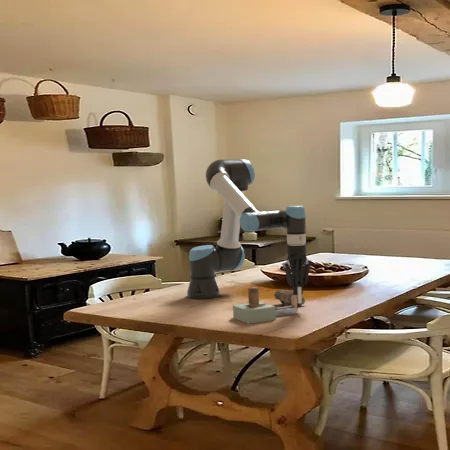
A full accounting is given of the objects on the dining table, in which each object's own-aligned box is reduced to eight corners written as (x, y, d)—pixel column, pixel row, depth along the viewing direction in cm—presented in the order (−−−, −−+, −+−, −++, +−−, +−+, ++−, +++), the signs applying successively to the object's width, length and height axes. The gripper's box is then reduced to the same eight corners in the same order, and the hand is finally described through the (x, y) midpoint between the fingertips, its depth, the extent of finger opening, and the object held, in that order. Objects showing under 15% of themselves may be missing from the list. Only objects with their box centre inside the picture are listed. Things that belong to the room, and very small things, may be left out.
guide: (264, 315, 243) (264, 309, 243) (290, 311, 249) (289, 305, 248) (270, 317, 239) (270, 311, 239) (296, 313, 244) (296, 307, 244)
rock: (272, 290, 265) (279, 290, 255) (297, 288, 267) (305, 288, 258) (273, 306, 264) (280, 307, 254) (298, 304, 267) (306, 305, 257)
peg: (247, 318, 239) (246, 288, 238) (256, 317, 241) (255, 286, 240) (252, 320, 236) (251, 289, 235) (261, 319, 238) (260, 288, 237)
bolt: (275, 313, 244) (274, 298, 244) (294, 310, 248) (293, 295, 247) (278, 314, 242) (277, 299, 242) (297, 311, 246) (296, 296, 246)
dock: (233, 317, 241) (232, 305, 241) (259, 313, 247) (259, 301, 246) (248, 323, 230) (247, 310, 230) (275, 319, 236) (275, 306, 235)
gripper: (287, 246, 239) (289, 306, 241) (315, 243, 245) (317, 302, 247) (277, 245, 246) (279, 303, 248) (304, 242, 252) (306, 299, 254)
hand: (298, 302), depth 247 cm, fingers closed
